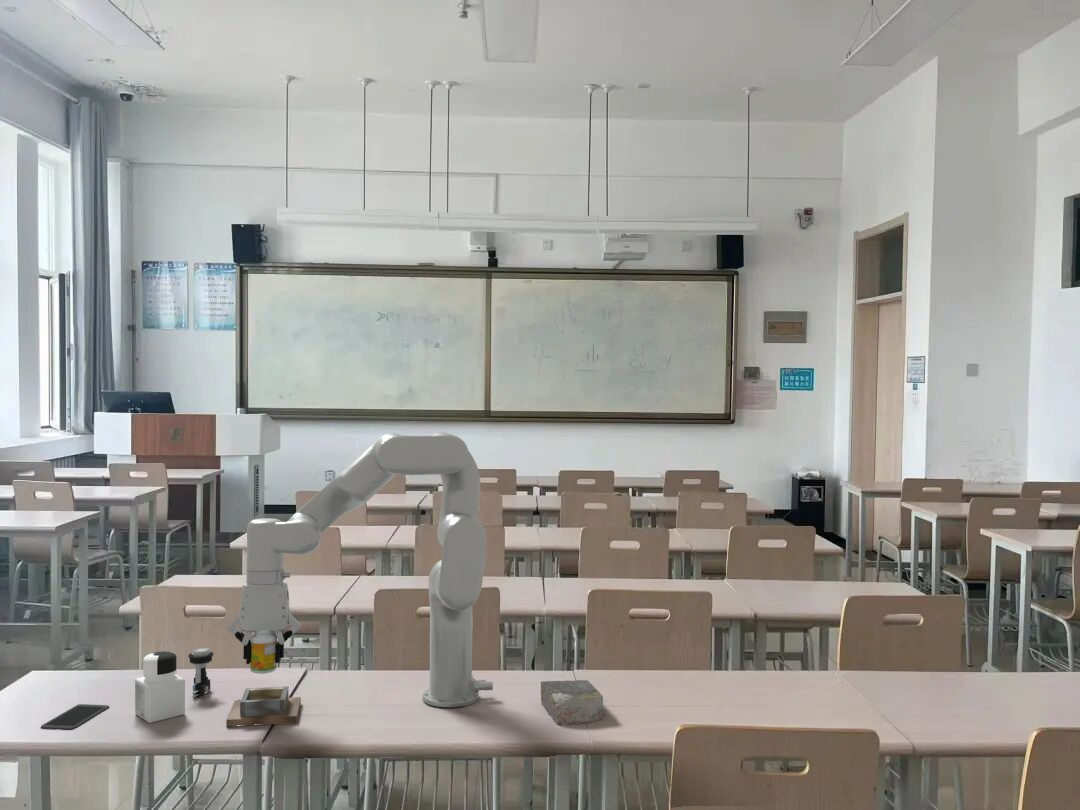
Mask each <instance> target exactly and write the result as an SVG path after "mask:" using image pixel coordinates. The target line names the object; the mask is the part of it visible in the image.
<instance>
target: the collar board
mask: <svg viewBox="0 0 1080 810" xmlns="http://www.w3.org/2000/svg"><path fill="white" fill-rule="evenodd" d="M289 687H290V686H269V687H265V686H264V687H251V688H250V687H246V688H245V690H244V692H243V694H242V697H241V699H239V700H238V699H237V700H234V701H233V704H232V706H231V708H230V711H229V712H228V715H227V718H226V724H225V725H226V726H237V725H254V724H273V725H286V724H285V723H291V724H297V723H298V719H299V712H300V708H301V705H300V704H301V703H302V697H301V696H297V697H296V696H295V697H293V696H292V697H289ZM297 718H298V719H297Z"/></svg>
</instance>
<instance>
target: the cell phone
mask: <svg viewBox="0 0 1080 810" xmlns="http://www.w3.org/2000/svg"><path fill="white" fill-rule="evenodd" d="M109 708H110V706H109V705H107V704H85V703H79V704H77V705H75V706H73V707H71V708H69V709H67V710H66V711H64V712H62V713H61V714H59V715H57V716H56V717H53V718H52V719H50V720H48V721H46V722H45V723H43V724H42V725H41V726H40V729H42V730H56V729H62V730H63V731H72V730H75V729H77V728H79V727H81V726H82V725H83V724H85V723H87V722H88V721H91V720H92V719H94V718H95V717H97V716H98V715H101V714H102V713H103V712H104V711H106V710H108V709H109ZM62 730H61V731H62Z"/></svg>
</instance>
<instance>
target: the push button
mask: <svg viewBox="0 0 1080 810" xmlns="http://www.w3.org/2000/svg"><path fill="white" fill-rule="evenodd" d="M213 657H214V652H213V651H210V649H209V648H208V647H199V648H194V649H193V650H192V652H191V653H189V654H188V658H189V663H190V664H192V665H194V666H195V674H194V675H195V676H194V678H193V684H192V692H191V693H192V698H197V697H196V696H201V695H202V696H203V695H205V694H208V693H209V692H210V691H211V679H210V678H209V676H207V673H208V672H207V665H208V664H209V663H211V662H213V661H212V660H213ZM209 690H210V691H209ZM205 692H206V693H205ZM204 693H205V694H204ZM202 696H201V697H202Z"/></svg>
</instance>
